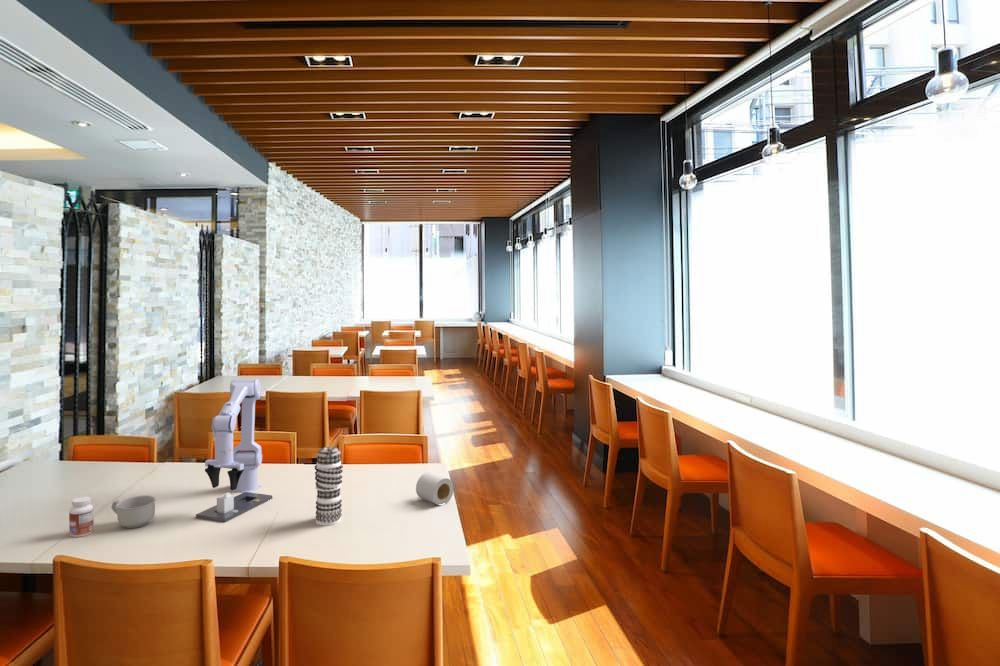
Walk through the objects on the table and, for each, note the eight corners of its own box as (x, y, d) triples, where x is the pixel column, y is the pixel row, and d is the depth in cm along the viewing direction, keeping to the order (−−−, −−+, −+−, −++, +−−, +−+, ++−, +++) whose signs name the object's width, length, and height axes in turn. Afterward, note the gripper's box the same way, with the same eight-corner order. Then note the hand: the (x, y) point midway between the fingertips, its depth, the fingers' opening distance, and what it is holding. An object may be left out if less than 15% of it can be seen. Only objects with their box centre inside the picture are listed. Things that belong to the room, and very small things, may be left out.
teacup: (163, 521, 191) (162, 497, 191) (132, 533, 181) (132, 508, 181) (132, 515, 196) (132, 492, 196) (101, 526, 186) (101, 502, 185)
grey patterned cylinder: (327, 528, 188) (327, 453, 187) (308, 521, 193) (308, 449, 192) (348, 519, 196) (348, 447, 195) (329, 513, 201) (330, 443, 200)
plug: (216, 514, 197) (216, 494, 197) (226, 510, 201) (226, 490, 201) (224, 515, 196) (224, 495, 196) (233, 511, 200) (233, 491, 200)
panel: (196, 518, 194) (195, 513, 194) (245, 495, 217) (245, 491, 217) (225, 523, 191) (225, 518, 191) (272, 499, 214) (272, 494, 214)
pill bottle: (67, 533, 180) (66, 499, 179) (90, 528, 185) (89, 494, 184) (72, 539, 176) (71, 504, 175) (96, 533, 181) (95, 499, 180)
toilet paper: (453, 501, 216) (453, 475, 215) (433, 508, 208) (433, 481, 208) (436, 495, 222) (436, 469, 222) (415, 501, 215) (416, 475, 215)
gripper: (198, 450, 195) (198, 489, 196) (233, 454, 191) (233, 494, 192) (213, 445, 202) (213, 483, 203) (248, 449, 198) (248, 487, 199)
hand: (224, 488), depth 198 cm, fingers open, 7 cm apart
